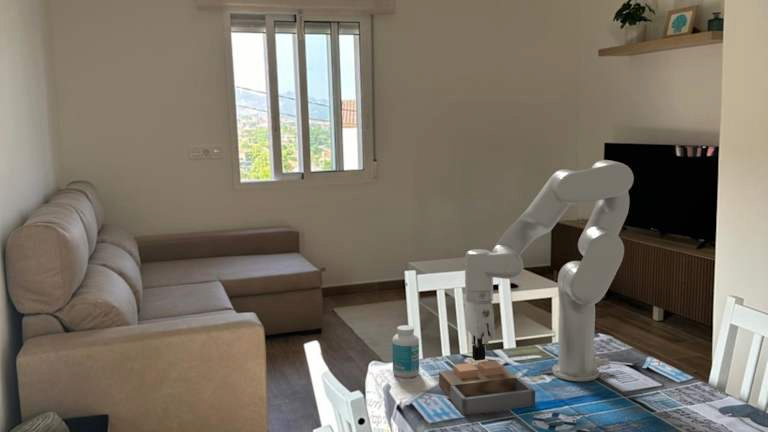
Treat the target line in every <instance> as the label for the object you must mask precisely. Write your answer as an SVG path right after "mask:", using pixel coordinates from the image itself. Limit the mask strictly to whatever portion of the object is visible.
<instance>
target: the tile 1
mask: <svg viewBox="0 0 768 432" xmlns="http://www.w3.org/2000/svg"><path fill="white" fill-rule="evenodd" d="M476 367H477V366H475V365H474V364H473V363H471V362H467V363H460V364H459V363H458V364H453V369H452V370H453V372H454V373H455V374H456V375H457V376H458V377H459V378H460V379H463V378H472V377H478V369H477V368H476Z"/></svg>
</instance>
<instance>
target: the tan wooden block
mask: <svg viewBox="0 0 768 432" xmlns="http://www.w3.org/2000/svg"><path fill="white" fill-rule="evenodd" d="M499 364H500V363H499ZM500 365H502V366H503V374H497V375H488V376H485V375H484V374H482V373H481V372H480V371H479V370H478V377H472V378H463V379H460V378H459V377H458V376H457V375H456V374H455V373H454V372H453V369H449V370H440V371H438V386H439V388H440V389H441V390H442V391H443V392H444V394H446V395H447V396H448V398H449V399H450V386H455V387H456V388H457V389H458V390H459V391H460V392H461V393H462V394H463V395H464V396H465V397H468V396H476V395H484V394H492V393H500V392H507V391H515V390H516V378H518V377H517V376H516V375H515V374H513V373H512V372H511V371H510V370H509V369H507V368H506V366H504V364H500ZM475 367H476V368H477V369H478V366H475Z"/></svg>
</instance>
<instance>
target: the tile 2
mask: <svg viewBox="0 0 768 432" xmlns="http://www.w3.org/2000/svg"><path fill="white" fill-rule="evenodd" d="M502 365H503V364H501V365H500V363H499V362H498V361H497V360H495V359H494V360H483V361H478V362H477V367H478V370H479V371H480V372H481V373H482V374H484V375H485V376H488V375H497V374H503V366H504V365H503V366H502Z"/></svg>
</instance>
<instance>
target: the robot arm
mask: <svg viewBox="0 0 768 432" xmlns="http://www.w3.org/2000/svg"><path fill="white" fill-rule="evenodd" d="M633 173H634V172H633V171H632V169H631V168H630V167H629V166H628V165H626V164H624V163H622V162H619V161H614V160H608V159H602V160H599V161H596V162H595V163H594V164H593V165H592V167H591V168H588V169H587V168H586V169H583V170H571V169H560V170H557V171H555V172H554V173H553V174H552V175H551V176H550V178H549V179H548V180H547V181H546V182H545V184H544V186H543V187H542V189H540V191H539V193H538V194H537V195H536V197H535V198H534V199H533V200H532V202H531V203H530V204H529V206H528V207H527V208H526V209H525V211H523V213H522V214H521V215H520V216H518V218H517V219H516V220H515V221H514V223H512V224H511V225H510V226H509V228H507V230H505V232H504V233H503V235H502V236H501V237H500V239H499V240H498V242H497V243H496V245H494V247H493V248H492V251H490V250H487V249H481V248H480V249H478V248H477V249H470V250H468V251H466V253H465V255H464V263H465V264H464V265H465V267H464V275H465V276H464V279H465V281H464V284H465V285H464V287H465V289H464V291H465V293H464V294H465V295H464V296H465V297H464V300H465V302H466V307H465V325H466V330H467V331H468V332H469V333H470V335H471V344H472V347H471V348H472V349H471V350H472V352H471V353H472V355H471V356H472V359H473V360H474V361H475V362H477V361H478V362H479V361H486V346H487V345H488V344H489V337H490V338H494V337H495V333H496V332H495V315H494V307H493V301H494V278H497V279H504V280H512V279H516V278H518V277H519V276H520V275H521V274H522V273H523V270H524V261H523V258H522V257H521V255H522V253H523V252H525V250H526V248H527V247H528V246H529V245H530V244H531V243H532V242H533V241H535V240H536V239H537V238H540V237H542V235H546V234H547V233H549V232H551V231H552V230H553V228H554V227H555V225H557V223H558V222H559V220H560V219H561V218H562V216H564V214H565V212H566V211H567V210H568V209H569V207H570V206H571V205H579V204H586V203H592V202H595V206H594V208H593V210H592V213H591V215H590V217H589V219H588V221H587V223H586V225H585V227H584V228H583V231H582V233H581V234H580V237H579V239H578V242H577V248H578V251H579V253H580V254H581V255H582V256H583V257H582V259H581V260H572V261H569V262H567V263H565V264H564V265H562V267H561V268H560V270H559V272H558V275H557V292H558V308H559V309H558V312H559V313H558V345H557V346H558V348H557V350H558V353H557V357H558V358H557V363H556V364H554V365H552V368H551V369H552V372H551V373H552V374H553V375H554V376H555V377H557V378H560V379H561V380H562V379H563V380H565V381H571V382H579V383H580V382H582V383H583V382H591V381H594V380H596V379H598V378H599V376H600V370H599V369H598V368H600V367H601V366H602V367H604V366H606V367H607V366H610V363H611V362H610V359H609V358H608V357H606V358H600V356H595V329H596V328H595V326H596V324H595V321H596V305H595V304H597V303H598V302H600V301H601V300H602V299H603V297H604V296H605V295H606V293H607V292H608V289H610V286H611V284H612V282H613V280H614V279H615V276H616V274H617V272H618V270H619V268H620V266H621V264H622V262H623V259H624V254H625V245H624V243H623V240H622V239H621V237H620V236H619V235H620V232H621V230H622V227H623V225H624V223H625V221H626V218H627V216H628V214H629V208H630V194H629V190H630V189H631V188H632V186H633V185H634V179H635V177H634V174H633ZM594 356H595V357H594Z"/></svg>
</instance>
